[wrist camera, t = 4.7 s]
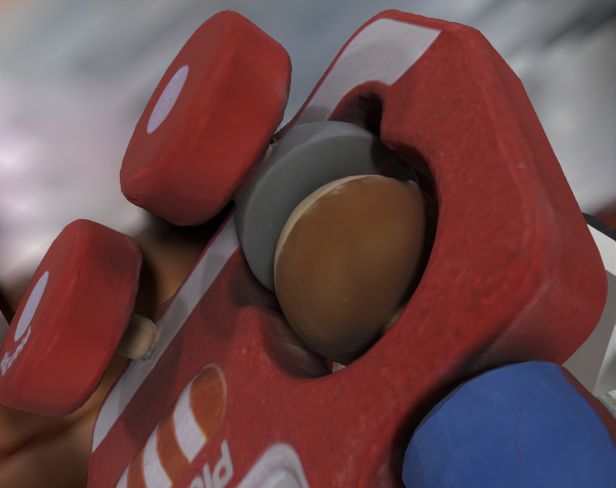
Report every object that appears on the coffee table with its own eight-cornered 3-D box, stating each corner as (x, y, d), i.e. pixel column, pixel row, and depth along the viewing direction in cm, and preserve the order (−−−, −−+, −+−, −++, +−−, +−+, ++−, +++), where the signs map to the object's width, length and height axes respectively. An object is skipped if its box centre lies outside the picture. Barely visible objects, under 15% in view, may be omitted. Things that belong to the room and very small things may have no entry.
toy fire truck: (461, 103, 14) (1031, 381, 5) (207, 416, 16) (304, 918, 8) (258, -96, 10) (1140, -293, 1) (-24, 354, 13) (-291, 1170, 4)
